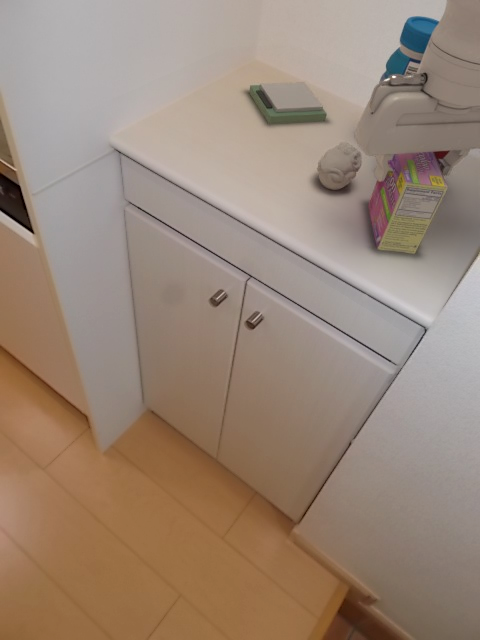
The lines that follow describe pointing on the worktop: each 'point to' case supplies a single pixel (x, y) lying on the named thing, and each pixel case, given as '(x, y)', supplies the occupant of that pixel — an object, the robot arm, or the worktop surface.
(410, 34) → the beverage bottle
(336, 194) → the worktop surface
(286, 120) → the scale
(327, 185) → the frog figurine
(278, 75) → the worktop surface
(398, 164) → the box
